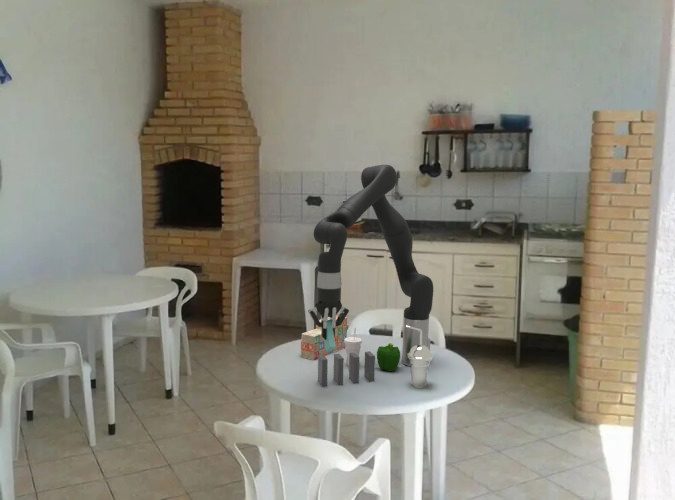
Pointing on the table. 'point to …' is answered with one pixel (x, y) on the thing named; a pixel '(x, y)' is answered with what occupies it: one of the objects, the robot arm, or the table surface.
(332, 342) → the domino
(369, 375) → the domino
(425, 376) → the cup with straw
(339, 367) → the domino
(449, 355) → the table surface
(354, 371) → the domino
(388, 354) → the bell pepper
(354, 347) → the smoothie
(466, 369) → the table surface
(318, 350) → the stack of blocks
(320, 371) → the domino
